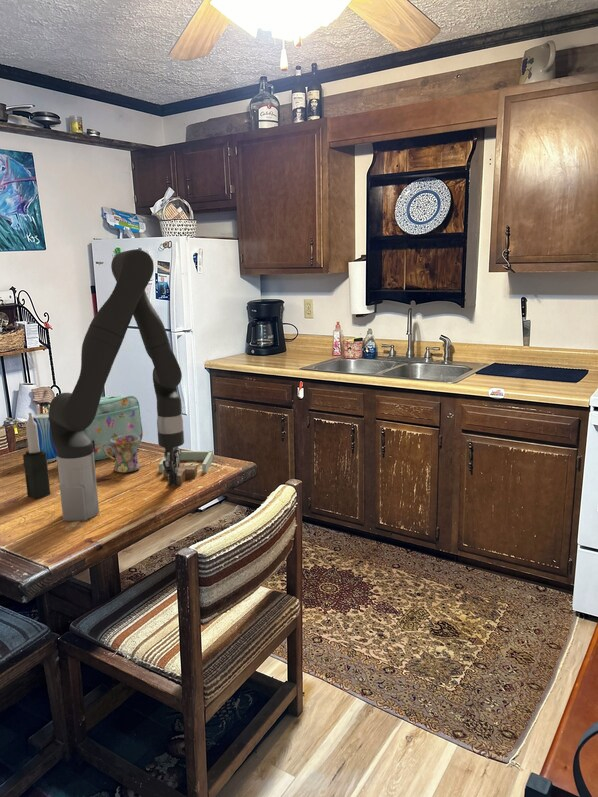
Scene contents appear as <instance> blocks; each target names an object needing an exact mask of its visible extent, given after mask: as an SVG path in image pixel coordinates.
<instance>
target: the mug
mask: <svg viewBox="0 0 598 797" xmlns="http://www.w3.org/2000/svg"><path fill="white" fill-rule="evenodd" d="M139 439H140V438H139V437H138V436H133V435H125V436H118V437H114V438H112V439H111V440H110V442H111V444H112V445H111V444H104V445H103V447H102V449H103V452H104V453H105V454H106V455H107V456H108V458H110V459H112V460H113V461H112V462H113V463H114V466H113V470H114V471H115V472H118V473H123V474H125V473H132V472H135V471H137V470H139V469H140V468H141V464H140V462H139V461H138V453H137V452H138V446H139V445H138V442H139ZM105 445H110V446H111V447H112V448H113V450H114V451H115V455H114V456H115V457H113V456H109V455H108V454H107V453H106V452H105V450H104V446H105Z"/></svg>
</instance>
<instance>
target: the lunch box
mask: <svg viewBox="0 0 598 797" xmlns="http://www.w3.org/2000/svg"><path fill="white" fill-rule="evenodd" d="M85 431H86V433H87V435H88V437H89V438H90V439H91V441H92V443H93V449H94V461H100V460H101V461H102V460H104V459H107V458H109V457H108V456H107V455H106V454H105V453H104V452H103V449H102V447H103V445H104V444H111V442H110V440H111V439H112V438H114V437H118V436H125V435H133V436H138V437H139V438H140V439H139V442H138V446H139V445H140V444H141V442H142V440H143V435H144V434H143V433H144V432H143V426H142V419H141V410H140V403H139V400H138V399H137V397H136V396H134V395H121V394H115V395H108V396H101V399H100V402H99V406H98V409H97V412H96V415H95V418H94V420H93V422H92V423H91V425H90V426H89V427H88V428H86V429H85ZM111 445H112V444H111ZM104 450H105V452H106V453H107V454H108V455H109V456H111V457H113V456H115V451H114V450H113V448H112V447H111V446H110V445H105V446H104Z"/></svg>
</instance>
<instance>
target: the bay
mask: <svg viewBox="0 0 598 797" xmlns="http://www.w3.org/2000/svg"><path fill="white" fill-rule="evenodd" d="M213 460H214V450H181V455H180V461H203V462H202V464H201V466H202V468H201V469H202V474H206V473H207V472H208V470H209V468H210V467H211V465H212V463H213ZM163 461H165V458H164V457H163V458H162V459H161V460H160V462H159V463H158V473H159V474H163V469H164V466H163Z"/></svg>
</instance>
